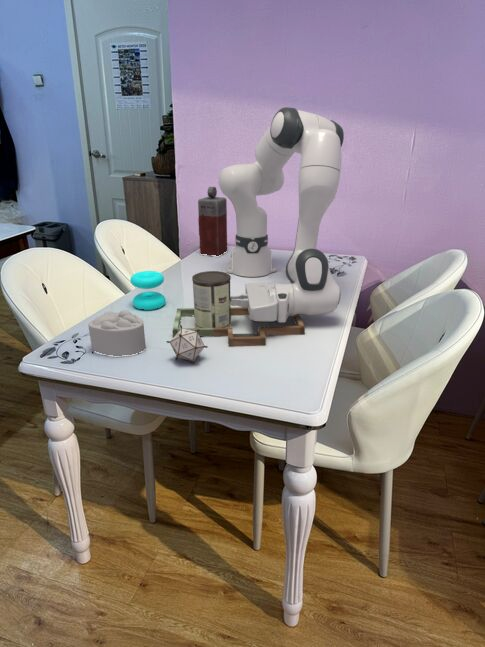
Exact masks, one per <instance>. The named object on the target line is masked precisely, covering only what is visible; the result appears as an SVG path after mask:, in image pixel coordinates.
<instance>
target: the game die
mask: <svg viewBox="0 0 485 647" xmlns="http://www.w3.org/2000/svg"><path fill="white" fill-rule="evenodd" d="M180 328H181V329H180ZM179 329H180V330H179V332H178V333H177V334H176V335H175V336H174V337H173V336H172V339H171V340H170V341H169V340H167V341H165V342H166V343H167V344H170V346H171V348H172V350H173V352H174V353H175V358H174V359H176V360H178V359H182V360H187V361H190V362H192V365H193V364H194V365H195V364H196V362H195V360H196V358H197V357H198V356H199V355H200V353H201V352H202V351H203V350H204V348H205V349H207V348H209V346H208V345H205V344H204V341H203V339H202V338H201V337H200V335H199V333H198V331H200V329H198V330H197V331H194V330H189V329H184V327H183V325H181V324H180V327H179Z"/></svg>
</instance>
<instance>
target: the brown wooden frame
mask: <svg viewBox="0 0 485 647" xmlns="http://www.w3.org/2000/svg"><path fill="white" fill-rule="evenodd" d="M191 315H195V313H194V308H193V307H192V308H191V307H189V308H188V307H186V308H176V313H175V317H174V322H173V326H172V338H173V337H174V336H175V335H176V334H177V333H178V332H179V330H180V329H181V328H180V327H179V326H180V325H181V321H180V320H182V317H192V316H191ZM300 315H301V314H297V315H293V316H292V318H293V320H294V323H295V325H284V326H283V325H281V326H279V325H277V326H258V332H255V333H254V332H253V333H252V332H251V333H250V332H249V333H248V332H247V333H246V332H245V333H234V331H233V327H232V326H230V327H225V328H196V327H192V328H187V327H185V328H184V327H183V328H184V329H189V330H194V331H197V330H198V329H200V331H198V333H199V335H200V336H214V337H227V340H228V344H229V345H228V347H250V346H251V347H252V346H253V347H254V346H255V347H257V346H262V347H263V346H266V344H267V343H266V342H267V338H266V336H284V335H285V336H292V335H293V336H295V335H296V336H298V335H305V330H306V329H305V328H306V326H305V324H304V322H303V320H302V317H301V316H300ZM231 316H249V311H248V308H243V307H239V306H232V307H231Z"/></svg>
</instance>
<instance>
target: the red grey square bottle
mask: <svg viewBox="0 0 485 647" xmlns="http://www.w3.org/2000/svg"><path fill="white" fill-rule="evenodd" d="M217 193H218V190H217V187H216V186H208V188H207V196H206V197H203V198H199V199H198V200H197V207H198V209H197V210H198V211H197V212H198V217H197V220H198V221H197V222H198V236H199V254H200V253H201V254H207V255H216V256H219V255H221V254H223V253H224V252H226V251H227V252H228V213H227V212H228V210H227V208H228V205H227V197H218V196H217ZM223 255H224V254H223Z"/></svg>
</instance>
